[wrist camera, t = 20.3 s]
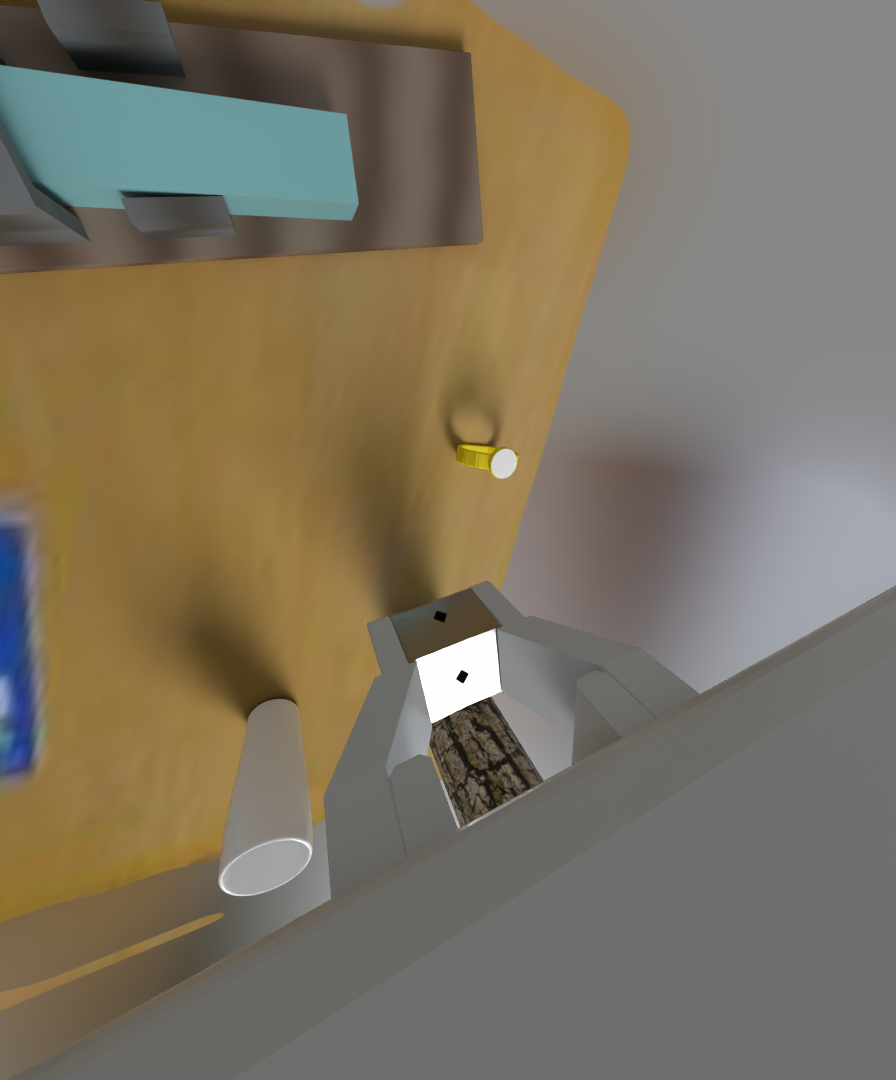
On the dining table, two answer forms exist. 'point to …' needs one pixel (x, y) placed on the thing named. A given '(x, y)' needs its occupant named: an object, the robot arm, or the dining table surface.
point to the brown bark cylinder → (480, 760)
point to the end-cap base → (264, 76)
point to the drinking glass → (268, 805)
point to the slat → (175, 146)
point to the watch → (488, 459)
